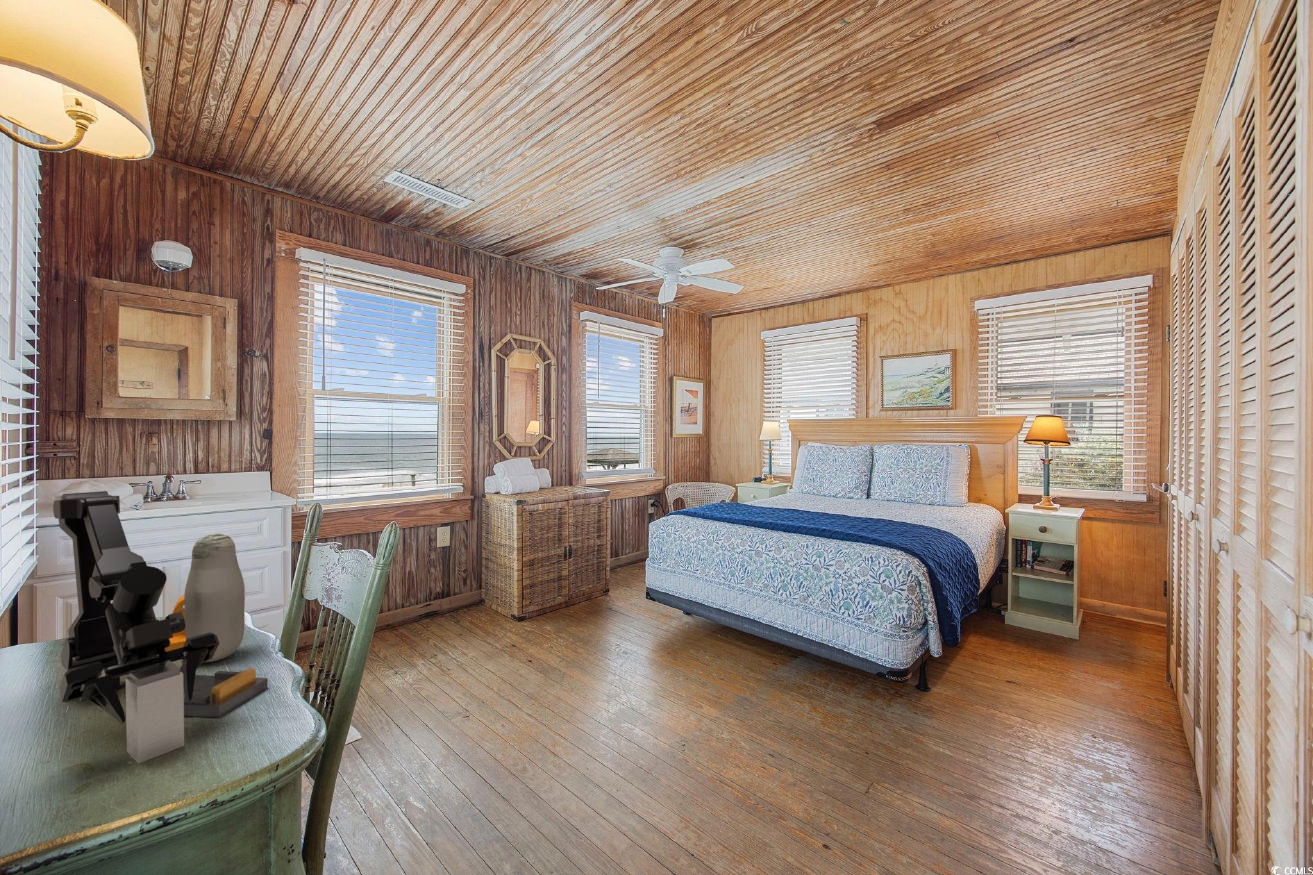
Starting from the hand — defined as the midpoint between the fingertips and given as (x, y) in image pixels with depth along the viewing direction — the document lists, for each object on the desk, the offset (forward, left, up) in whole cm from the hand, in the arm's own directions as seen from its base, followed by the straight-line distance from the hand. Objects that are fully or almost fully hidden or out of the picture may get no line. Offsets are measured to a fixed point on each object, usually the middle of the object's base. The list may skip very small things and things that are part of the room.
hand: (158, 710), depth 87 cm
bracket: (-33, +39, -7) cm, 51 cm away
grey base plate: (-7, +16, -7) cm, 18 cm away
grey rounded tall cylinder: (-21, +33, -7) cm, 40 cm away
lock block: (-1, +1, -7) cm, 7 cm away
